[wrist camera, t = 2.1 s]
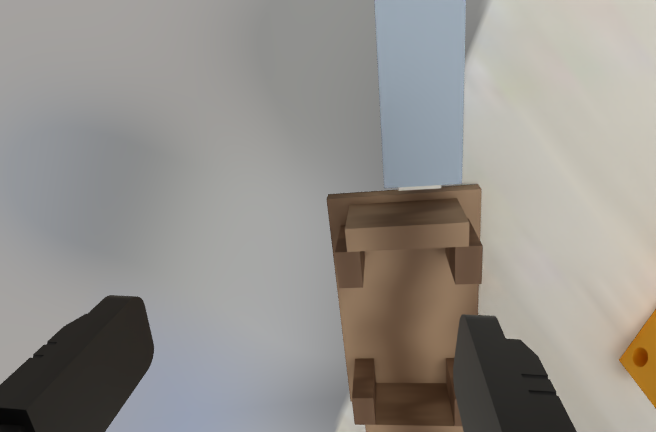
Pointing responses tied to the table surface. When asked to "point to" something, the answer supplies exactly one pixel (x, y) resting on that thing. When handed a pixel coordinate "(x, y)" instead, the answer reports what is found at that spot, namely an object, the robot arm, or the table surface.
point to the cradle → (405, 300)
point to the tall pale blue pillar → (421, 91)
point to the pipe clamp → (643, 359)
